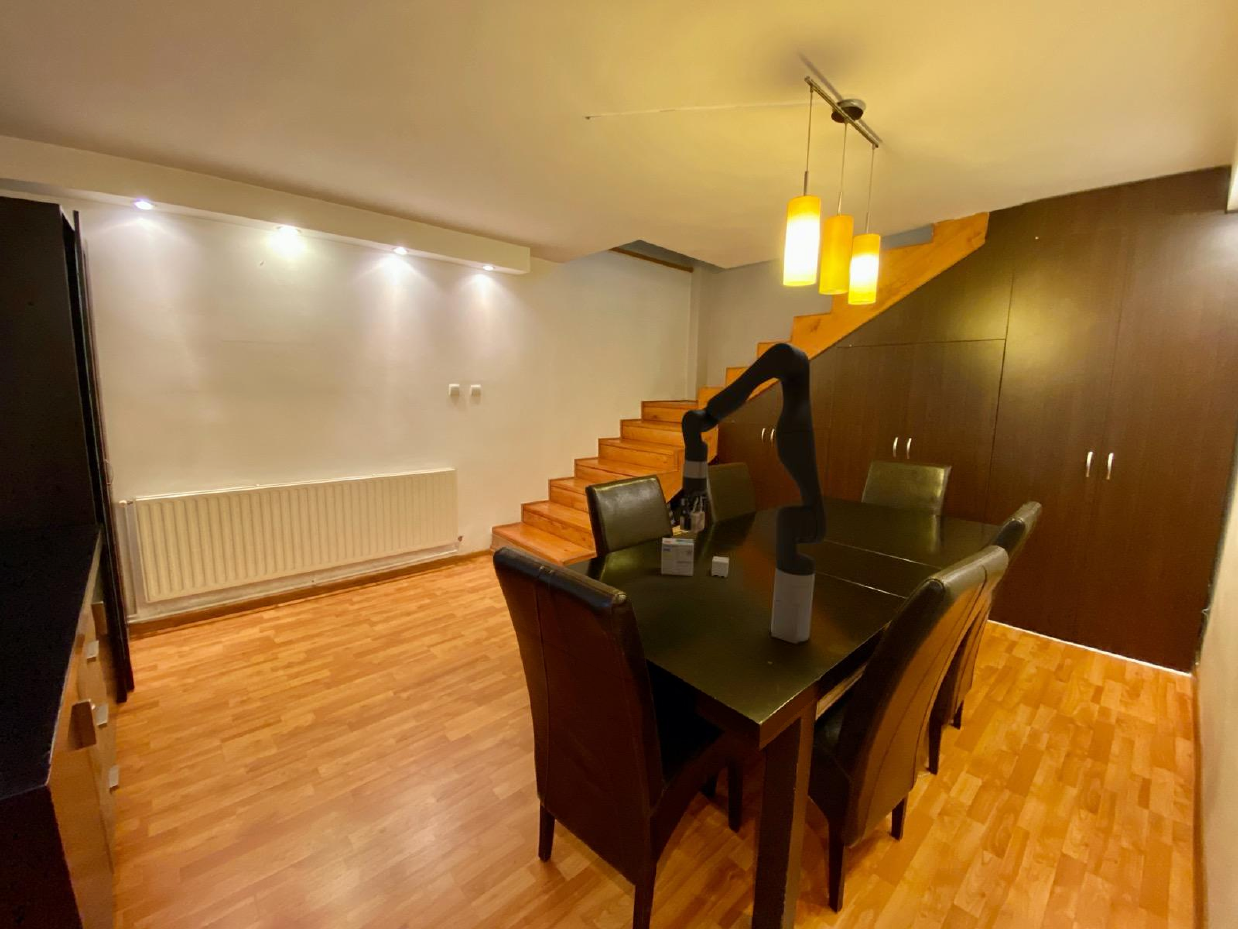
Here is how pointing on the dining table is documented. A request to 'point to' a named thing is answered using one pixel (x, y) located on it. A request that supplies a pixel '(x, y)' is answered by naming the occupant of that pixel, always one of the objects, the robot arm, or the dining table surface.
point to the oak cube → (694, 522)
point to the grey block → (720, 566)
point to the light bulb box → (677, 556)
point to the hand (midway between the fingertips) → (692, 527)
